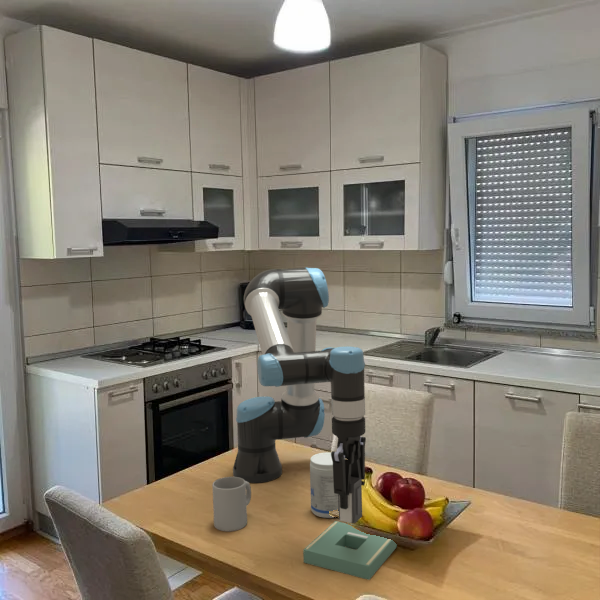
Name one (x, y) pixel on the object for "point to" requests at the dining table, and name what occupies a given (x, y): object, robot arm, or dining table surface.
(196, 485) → the dining table surface
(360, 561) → the green square socket board
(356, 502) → the plug
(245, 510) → the mug
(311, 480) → the supplement tub
